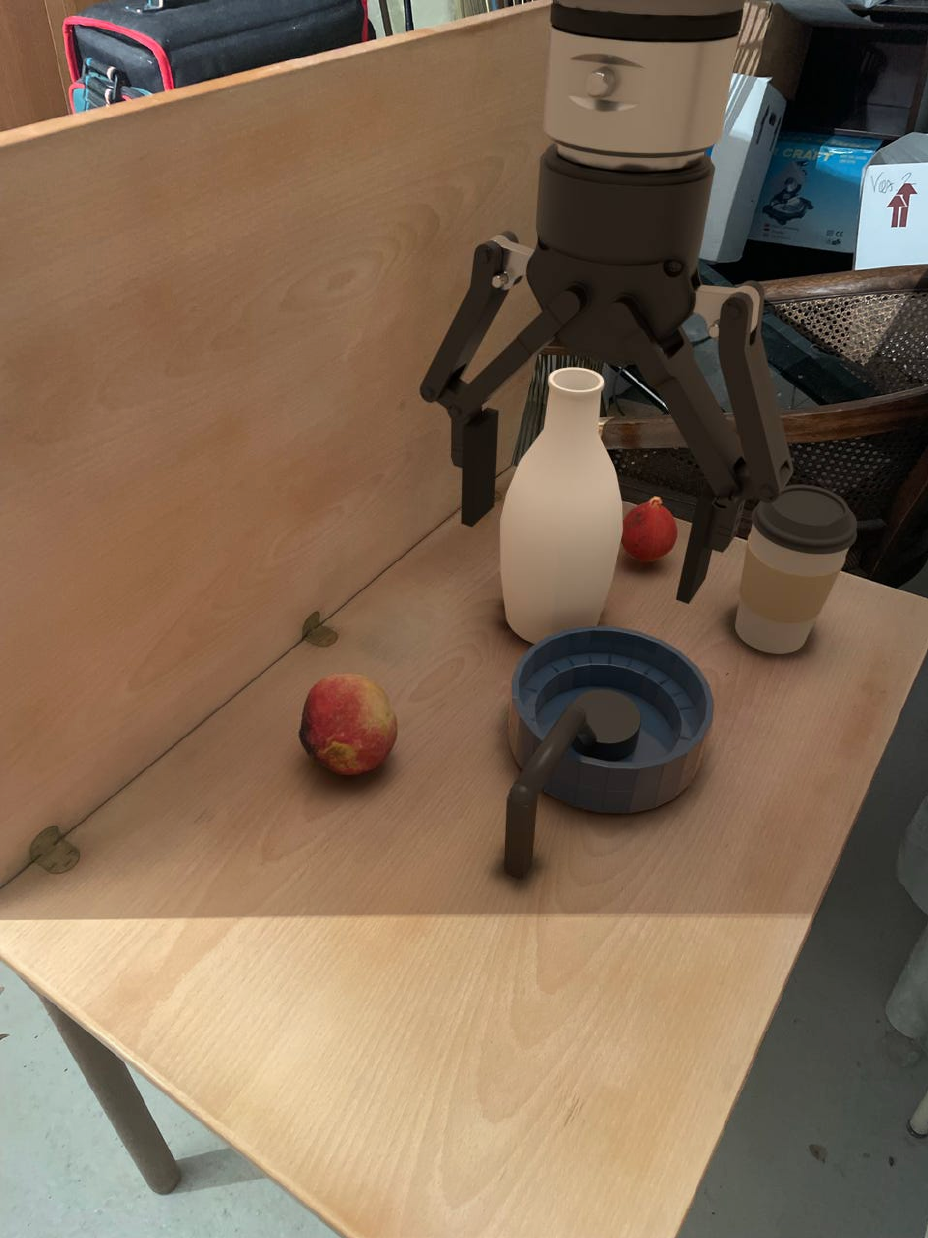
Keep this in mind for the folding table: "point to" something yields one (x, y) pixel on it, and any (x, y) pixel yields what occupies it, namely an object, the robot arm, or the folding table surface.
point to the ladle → (591, 727)
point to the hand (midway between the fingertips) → (579, 550)
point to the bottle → (561, 516)
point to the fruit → (348, 724)
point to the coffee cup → (791, 566)
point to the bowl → (635, 669)
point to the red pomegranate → (649, 531)
